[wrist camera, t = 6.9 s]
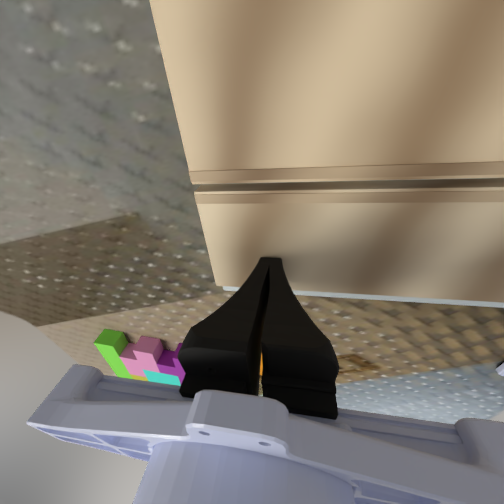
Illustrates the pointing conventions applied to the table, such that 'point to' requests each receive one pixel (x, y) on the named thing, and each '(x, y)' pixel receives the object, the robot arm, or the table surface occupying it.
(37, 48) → the table surface
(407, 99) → the laid board
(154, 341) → the toy blocks
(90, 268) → the table surface
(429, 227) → the loose board
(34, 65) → the table surface
